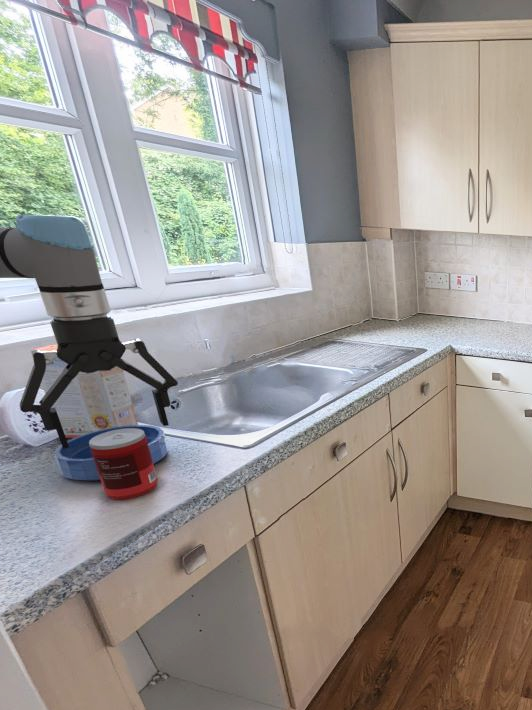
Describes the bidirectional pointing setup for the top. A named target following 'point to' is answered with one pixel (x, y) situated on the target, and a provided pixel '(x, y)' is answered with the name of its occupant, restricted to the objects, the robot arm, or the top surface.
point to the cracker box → (90, 399)
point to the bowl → (80, 459)
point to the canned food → (124, 463)
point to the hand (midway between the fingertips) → (117, 434)
